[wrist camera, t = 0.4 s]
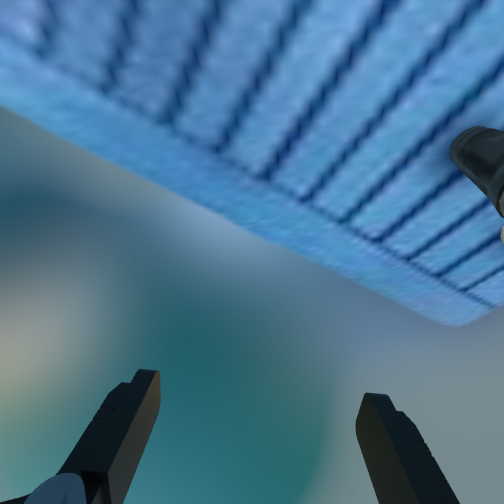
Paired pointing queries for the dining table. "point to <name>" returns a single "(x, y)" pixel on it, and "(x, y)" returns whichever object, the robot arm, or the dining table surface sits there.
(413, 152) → the dining table surface
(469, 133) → the beverage cup
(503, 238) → the french press
